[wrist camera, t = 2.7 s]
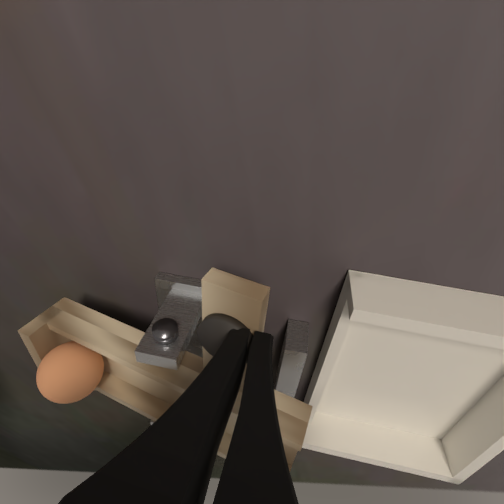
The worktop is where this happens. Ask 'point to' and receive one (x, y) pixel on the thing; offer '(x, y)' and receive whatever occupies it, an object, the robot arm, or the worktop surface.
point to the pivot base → (185, 336)
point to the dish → (410, 378)
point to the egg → (69, 373)
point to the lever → (177, 381)
